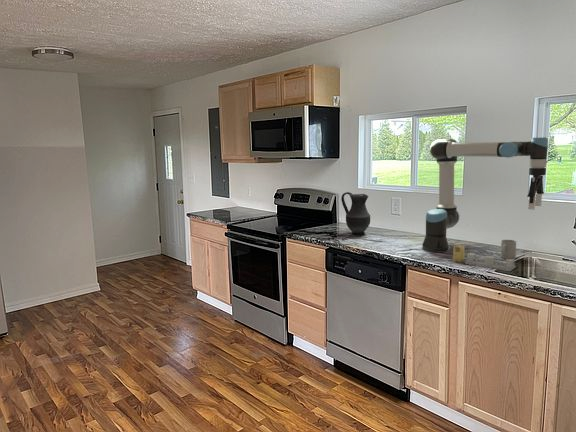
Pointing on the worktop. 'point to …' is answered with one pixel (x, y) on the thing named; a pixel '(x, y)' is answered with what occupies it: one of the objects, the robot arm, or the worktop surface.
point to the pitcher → (357, 214)
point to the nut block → (458, 253)
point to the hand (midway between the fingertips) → (534, 207)
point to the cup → (508, 249)
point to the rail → (490, 262)
